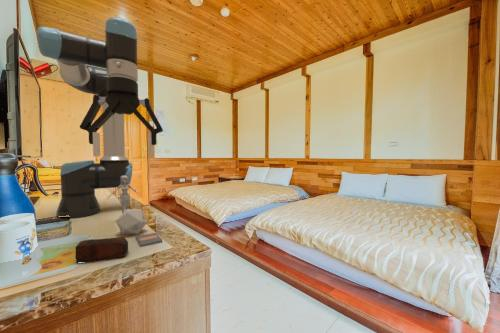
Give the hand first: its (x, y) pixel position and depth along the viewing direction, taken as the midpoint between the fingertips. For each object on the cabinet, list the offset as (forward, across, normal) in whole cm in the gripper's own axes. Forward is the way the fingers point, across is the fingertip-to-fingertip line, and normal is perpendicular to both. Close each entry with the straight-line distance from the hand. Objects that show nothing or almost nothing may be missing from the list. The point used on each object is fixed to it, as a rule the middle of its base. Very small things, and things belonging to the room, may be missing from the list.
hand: (124, 156), depth 62 cm
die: (+26, -1, +12) cm, 28 cm away
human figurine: (+26, -7, +28) cm, 38 cm away
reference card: (+26, +5, +4) cm, 27 cm away
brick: (+26, -4, -6) cm, 27 cm away
